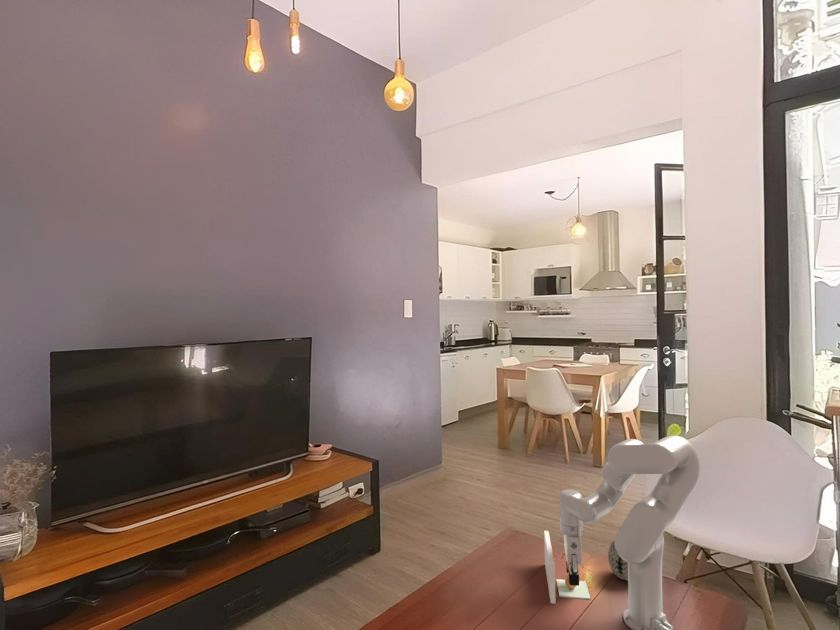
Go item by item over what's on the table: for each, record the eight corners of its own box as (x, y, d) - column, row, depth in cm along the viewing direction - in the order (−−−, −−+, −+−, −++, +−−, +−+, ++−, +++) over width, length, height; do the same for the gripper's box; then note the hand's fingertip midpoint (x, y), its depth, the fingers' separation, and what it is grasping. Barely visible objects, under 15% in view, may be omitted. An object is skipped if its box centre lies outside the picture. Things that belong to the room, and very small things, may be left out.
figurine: (557, 587, 165) (556, 552, 166) (562, 579, 170) (561, 545, 171) (581, 593, 161) (580, 557, 161) (586, 585, 166) (584, 550, 166)
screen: (555, 603, 157) (554, 564, 156) (550, 603, 157) (549, 564, 157) (549, 565, 180) (548, 530, 180) (544, 564, 181) (544, 530, 180)
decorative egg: (648, 577, 170) (648, 536, 170) (637, 592, 162) (636, 548, 162) (615, 566, 178) (615, 526, 178) (603, 579, 170) (602, 537, 170)
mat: (590, 599, 158) (590, 598, 158) (559, 596, 160) (559, 595, 160) (585, 582, 168) (585, 581, 168) (556, 580, 170) (556, 579, 170)
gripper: (587, 540, 155) (588, 594, 155) (579, 517, 172) (580, 566, 172) (563, 538, 156) (564, 592, 156) (557, 515, 173) (558, 564, 173)
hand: (572, 578), depth 164 cm, fingers open, 6 cm apart
